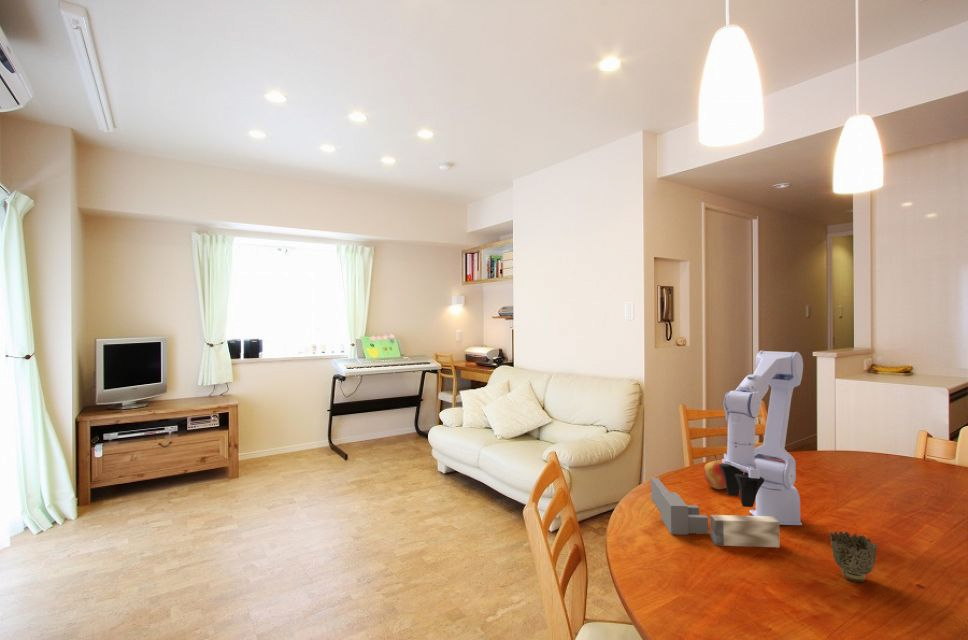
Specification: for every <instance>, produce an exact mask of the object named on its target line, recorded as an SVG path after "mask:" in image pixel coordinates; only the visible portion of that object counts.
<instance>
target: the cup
mask: <svg viewBox="0 0 968 640" xmlns="http://www.w3.org/2000/svg"><path fill="white" fill-rule="evenodd" d="M829 537H830V542H831V543H830V546H831V551H832V555H833V559H834V561H835V563H836V565H837V566H838V567H839V568H840V569H841V574H842V576H843V578H845V579H847V580H849V581H850V582H855V583H861V582H864V581H865V579H866V575H869V574H870V573H871V572H872V571H873V570H874V567H875V562H876V555H877V548H878V545H877V542H875V543H871V539H870V538H869V537H868V538H867V537H866V536H865V535H863V534H861V535H859V536H858V535H857V534H856V532H854V533H853V534H852V535H851V534H850V533H849V531H845V532H843V531H842V530H841V531H839V532H837V531H834V533H832V532H830V533H829Z"/></svg>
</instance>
